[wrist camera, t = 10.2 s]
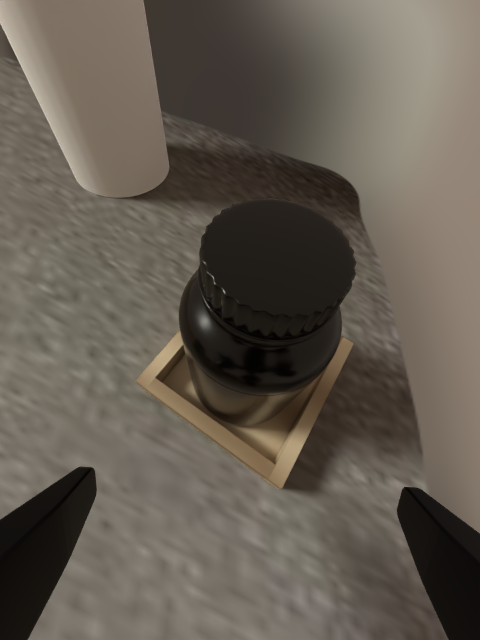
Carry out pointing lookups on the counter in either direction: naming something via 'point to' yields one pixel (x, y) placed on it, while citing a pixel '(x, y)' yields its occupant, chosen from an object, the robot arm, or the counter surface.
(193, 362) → the supplement bottle
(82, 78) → the paper towel roll
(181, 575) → the counter surface
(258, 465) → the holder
